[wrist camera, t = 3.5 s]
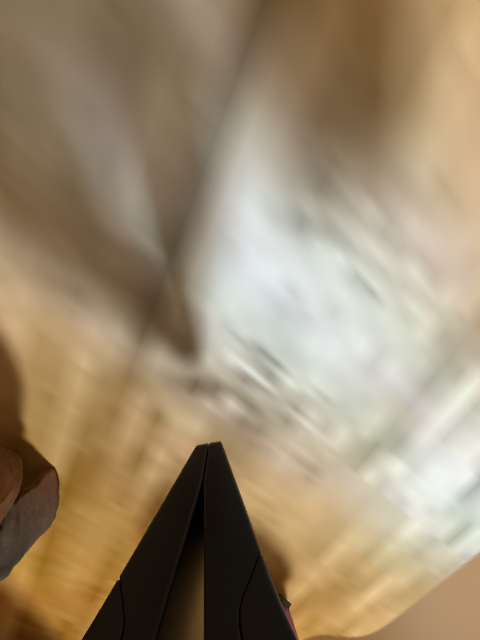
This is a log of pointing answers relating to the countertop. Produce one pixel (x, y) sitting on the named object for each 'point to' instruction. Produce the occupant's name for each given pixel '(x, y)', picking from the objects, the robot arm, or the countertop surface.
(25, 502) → the brown looped piece
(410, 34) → the countertop surface
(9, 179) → the countertop surface
